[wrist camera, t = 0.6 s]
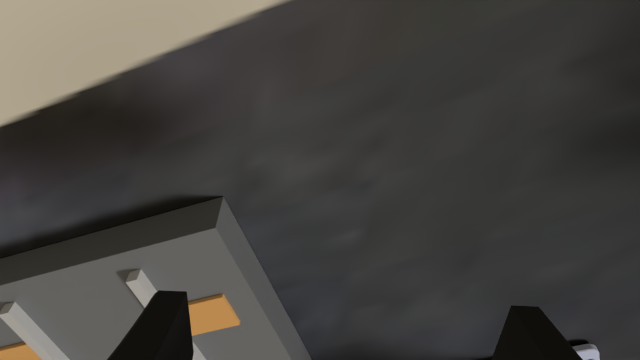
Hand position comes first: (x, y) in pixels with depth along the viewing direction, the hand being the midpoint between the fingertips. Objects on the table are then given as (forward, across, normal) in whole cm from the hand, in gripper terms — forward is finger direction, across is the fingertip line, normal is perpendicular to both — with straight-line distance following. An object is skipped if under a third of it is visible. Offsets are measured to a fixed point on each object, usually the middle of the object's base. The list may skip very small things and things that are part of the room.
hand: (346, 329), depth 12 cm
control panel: (+10, +8, +15) cm, 19 cm away
